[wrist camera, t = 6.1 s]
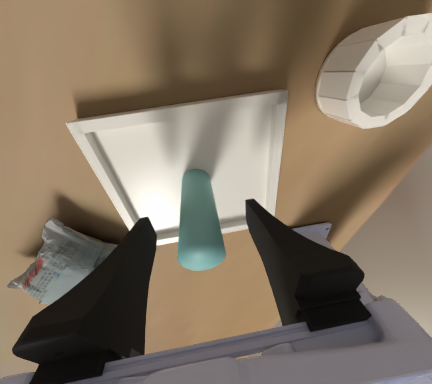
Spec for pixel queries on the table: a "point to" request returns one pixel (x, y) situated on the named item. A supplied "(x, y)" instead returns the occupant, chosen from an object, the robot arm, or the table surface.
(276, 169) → the tray
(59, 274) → the packaged food
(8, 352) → the table surface
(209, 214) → the dowel
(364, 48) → the bowl
